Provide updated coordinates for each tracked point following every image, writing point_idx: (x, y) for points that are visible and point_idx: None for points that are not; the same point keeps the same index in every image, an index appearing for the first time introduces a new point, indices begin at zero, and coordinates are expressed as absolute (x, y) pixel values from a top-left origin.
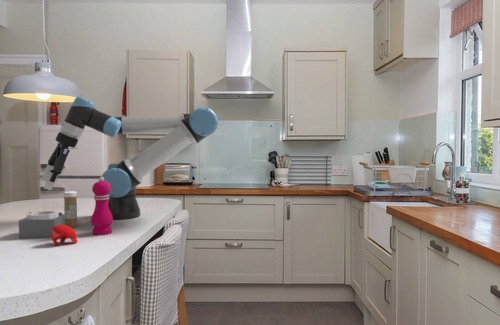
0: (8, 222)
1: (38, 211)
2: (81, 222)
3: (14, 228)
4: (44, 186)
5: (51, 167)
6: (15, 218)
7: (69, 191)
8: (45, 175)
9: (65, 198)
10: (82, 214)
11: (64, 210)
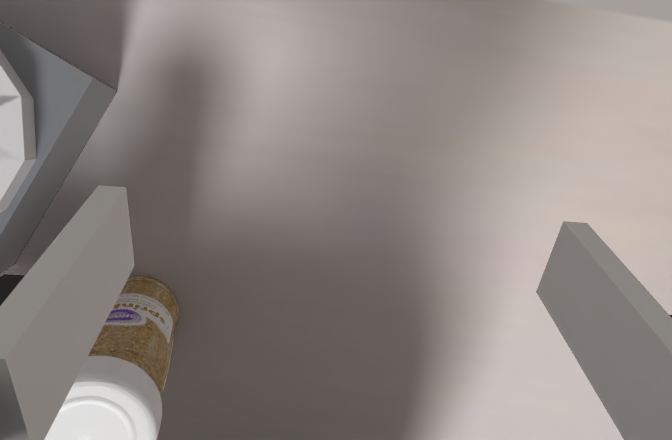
0: (526, 18)
1: (6, 106)
2: (240, 384)
3: (302, 13)
4: (94, 197)
5: (652, 426)
6: (627, 74)
7: (127, 436)
8: (585, 290)
9: None
10: (503, 421)
11: (117, 312)
